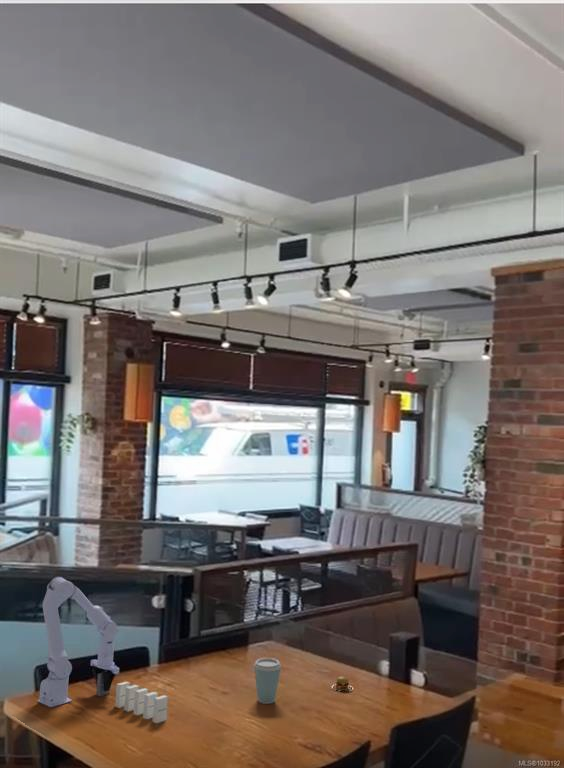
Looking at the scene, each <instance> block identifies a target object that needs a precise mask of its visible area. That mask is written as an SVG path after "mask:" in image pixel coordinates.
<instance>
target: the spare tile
mask: <svg viewBox="0 0 564 768" xmlns="http://www.w3.org/2000/svg"><path fill="white" fill-rule="evenodd" d="M105 672H107V670H106V671H105ZM109 694H110V690H108V691H104V678H103V675H102V673H98V678H97V686H96V696H98V697H103V696H106V695H109Z"/></svg>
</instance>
